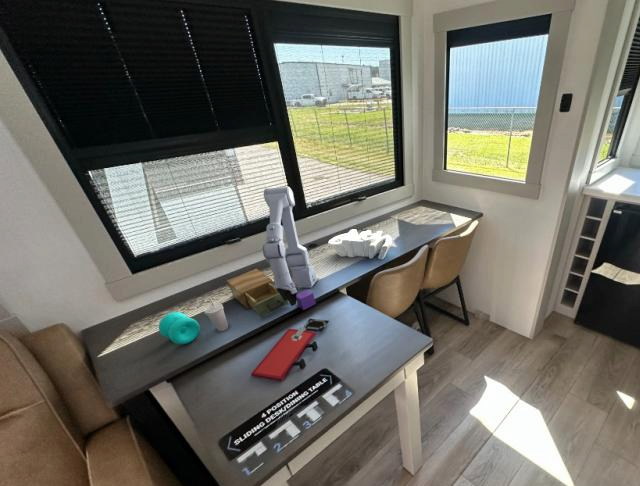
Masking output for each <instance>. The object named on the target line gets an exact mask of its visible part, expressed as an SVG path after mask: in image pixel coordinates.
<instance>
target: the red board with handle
mask: <svg viewBox="0 0 640 486" xmlns="http://www.w3.org/2000/svg"><path fill="white" fill-rule="evenodd" d="M329 322H330V320H325V319H317V318H309V319H308V320H307V321H306V323H305V324H304V325H303V326H302V327H300V328H299V329H296V328H288V329H287V330H286V331H285V332H284V333H283V335H282V336H280V338H279V340H278V341H276V343H275V344H274V345H273V347H272V348H271V349H270V350H269V351H268V352H267V353H266V355H265V356H264V357H263V358H262V360H261V361H260V362H259V363H258V365H257V366H256V367H255V368H254V369H253V370H252V371H251V373H250V375H251V377H255V378H260V379H261V378H262V379H265V380H266V379H267V380H272V381H279V382H283V381H284V380H285V378H286V376H288V374H289V372H290V371H291V370H292V368H293V367H295V366H299V369H300V370H304V369H305V368H306V366H307V365H306V362H305V359H304V358H300V357H301V356H302V355H303V354H304V351H305V350H306V349H311V350H312V352H316V351H317V350H318V348H319V347H318V343H317V341H314V340H313V339H314V337H315V336H316V335H317V332H320V333H322V332H323V331H324V329H325V328H326V327H327V325H328V324H329ZM299 358H300V360H299Z"/></svg>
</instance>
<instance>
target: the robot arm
mask: <svg viewBox="0 0 640 486" xmlns="http://www.w3.org/2000/svg"><path fill="white" fill-rule="evenodd" d="M263 199H264V202H265V203H266V205H267V207H268V208H269V209H268V210H269V212H268V213H269V223H268V224H267V225H266V230H265V231H266V232H265V243H263V244H262V253H263V257H264V258H265V260H266V262H267V263H268V264H269V266H270V270H271V272H272V275H273V277H272V280H273V283H275V284H274V288H275V289H276V290H277V291H278V292H279V293H280V295H281V296H282V298H283V300H284V301H286V300H288V303H289V305H290V306H291V307H294V306H295V305H297V301H296V296H297V294H298V292H299V289H298V288H305V289H307V288H308V289H311V288H313V286H314V285H315V284H316V283H317V281H318V278H317V275H316V271H315V267H314V266H312V265H310V262H311V261H310V260H311V259H310V254H309V252H308V249H307V248H306V247H305V246H303V245H301V244H300V242H299V237H298V232H297V228H296V223H295V219H294V214H293V207H295V206H296V201H295V197H294V192H293V190H292V188H291V187H290V186H283V187H269V188H268V187H266V188H264V189H263ZM281 223H282V224H281ZM284 235H285V239H286V244H287V248H286V247H285V242H284ZM290 270H291V273H292V276H293V279H292V278H291V274H290Z"/></svg>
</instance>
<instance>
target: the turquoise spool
mask: <svg viewBox="0 0 640 486" xmlns="http://www.w3.org/2000/svg"><path fill="white" fill-rule="evenodd" d="M200 329H201V327H200V324H199V322H198V321H197V320H196V319H194V318H191V317H188V316H187V315H186V314H185V313H183V312H181V311H174V312H169V313H168V314H166V315H164V316H163V317H162V318H161V319H160V321H159V323H158V331H159V333H160V335H162V336H163V337H165V338H168V339H170V341H171V342H172V343H174V344H177V345H187V344H189V343H192V342H193V341H194V340H196V338H197V337H198V335H199V334H200V331H201V330H200Z"/></svg>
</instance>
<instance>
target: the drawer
mask: <svg viewBox="0 0 640 486" xmlns="http://www.w3.org/2000/svg"><path fill="white" fill-rule="evenodd" d="M244 296H245V299H246V301H247V303H248V304H249V305H250V306H251V308H252V309H253V310H254V311H255V312H256V313H257V314H258V316H259V318H260V319H262V318H264V317H266V316H268V315H270V314H272V313H274V312H276V311H278V310H280V309H282V308H284V307H286V306H289V305H290V303H289V301H288V300H286V301H284V300H283V298H282V296H281V295H280V293H279V292H278V291H277V290H276V289H275V288H274V286H273V285H272V284H271V283H267V284H265V285H263V286H260V287H258V288H256V289H253V290H251V291H249V292H246V293H244Z"/></svg>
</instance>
